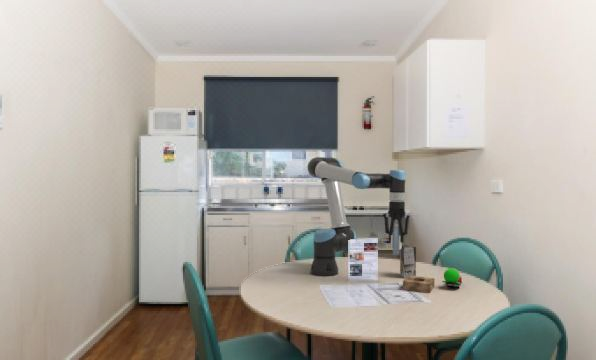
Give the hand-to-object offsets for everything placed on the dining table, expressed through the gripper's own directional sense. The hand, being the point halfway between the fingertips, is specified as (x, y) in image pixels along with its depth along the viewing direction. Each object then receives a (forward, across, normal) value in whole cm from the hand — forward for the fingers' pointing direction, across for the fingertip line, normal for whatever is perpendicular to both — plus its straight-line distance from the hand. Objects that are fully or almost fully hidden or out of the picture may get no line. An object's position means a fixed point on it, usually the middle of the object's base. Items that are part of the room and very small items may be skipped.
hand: (396, 248), depth 209 cm
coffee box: (+17, +3, +15) cm, 23 cm away
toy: (+17, +26, +4) cm, 32 cm away
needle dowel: (+3, 0, 0) cm, 3 cm away
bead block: (+17, +13, -6) cm, 22 cm away
